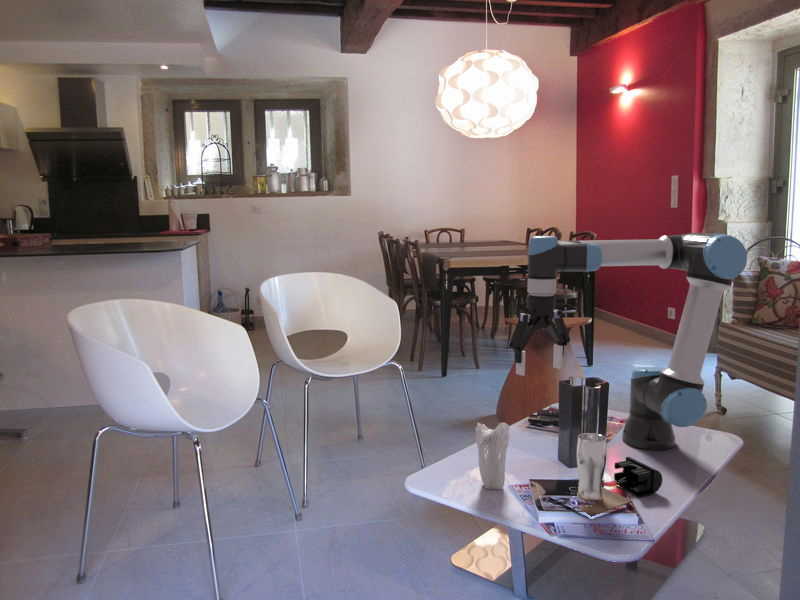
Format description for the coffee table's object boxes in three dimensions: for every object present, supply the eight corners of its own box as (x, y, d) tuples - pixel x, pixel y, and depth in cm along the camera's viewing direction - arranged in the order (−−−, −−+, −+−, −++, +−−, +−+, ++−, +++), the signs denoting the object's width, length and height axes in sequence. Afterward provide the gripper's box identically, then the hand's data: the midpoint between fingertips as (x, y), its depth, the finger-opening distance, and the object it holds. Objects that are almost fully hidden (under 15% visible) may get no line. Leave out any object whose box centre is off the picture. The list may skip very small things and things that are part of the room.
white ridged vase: (473, 481, 176) (474, 414, 173) (504, 480, 176) (505, 414, 174) (478, 494, 168) (479, 425, 165) (511, 493, 168) (513, 424, 166)
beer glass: (584, 504, 159) (587, 443, 157) (569, 492, 166) (571, 434, 164) (610, 500, 161) (613, 440, 159) (594, 489, 168) (597, 431, 166)
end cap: (662, 494, 168) (663, 468, 167) (639, 499, 165) (641, 473, 164) (633, 479, 177) (635, 454, 176) (612, 483, 174) (613, 458, 173)
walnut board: (588, 485, 173) (588, 480, 173) (632, 505, 161) (632, 500, 161) (548, 497, 166) (548, 492, 166) (591, 519, 154) (591, 514, 154)
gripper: (564, 289, 189) (562, 362, 192) (496, 295, 177) (494, 374, 179) (585, 292, 183) (582, 368, 186) (515, 299, 170) (513, 380, 173)
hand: (539, 371), depth 183 cm, fingers open, 13 cm apart
